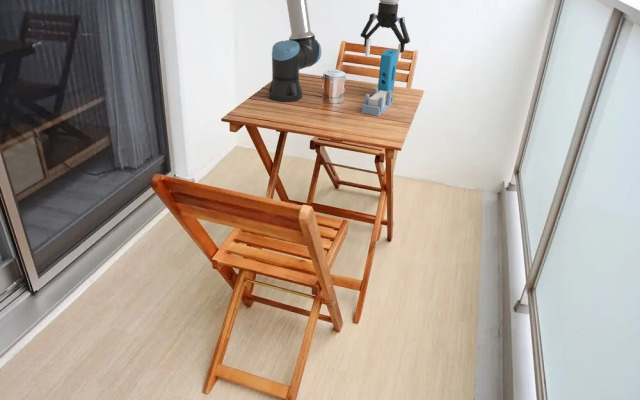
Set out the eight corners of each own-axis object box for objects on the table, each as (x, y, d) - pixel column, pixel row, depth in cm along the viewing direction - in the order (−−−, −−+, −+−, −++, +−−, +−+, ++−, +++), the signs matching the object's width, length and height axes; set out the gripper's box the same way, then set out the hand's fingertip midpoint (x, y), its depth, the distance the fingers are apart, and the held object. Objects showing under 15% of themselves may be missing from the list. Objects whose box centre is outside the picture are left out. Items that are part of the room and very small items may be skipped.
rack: (378, 116, 200) (380, 99, 197) (361, 112, 203) (363, 96, 200) (392, 104, 214) (394, 89, 210) (376, 101, 216) (377, 86, 213)
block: (386, 101, 218) (391, 56, 207) (376, 99, 219) (380, 54, 209) (393, 93, 227) (398, 50, 217) (383, 92, 229) (388, 49, 219)
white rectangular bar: (376, 111, 202) (377, 100, 199) (367, 110, 203) (368, 98, 201) (387, 102, 212) (388, 91, 210) (379, 101, 214) (380, 90, 211)
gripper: (355, 0, 188) (351, 55, 199) (416, 7, 179) (409, 64, 190) (362, -3, 194) (358, 51, 205) (422, 4, 185) (414, 60, 196)
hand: (382, 57), depth 197 cm, fingers open, 13 cm apart
